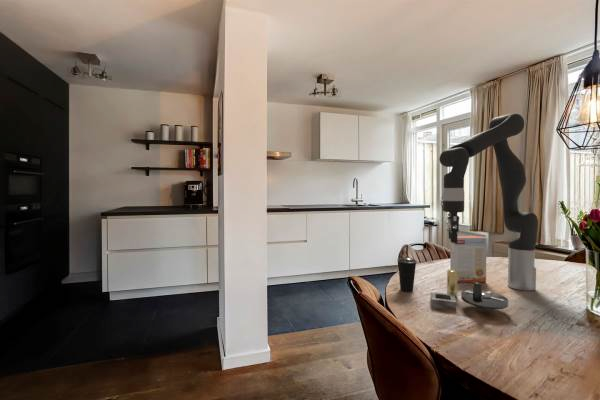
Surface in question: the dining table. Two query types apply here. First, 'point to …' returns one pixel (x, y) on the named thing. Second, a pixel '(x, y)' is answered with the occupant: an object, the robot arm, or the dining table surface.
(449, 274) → the gold metallic cylinder
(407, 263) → the dark tapered cylinder
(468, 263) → the cracker box
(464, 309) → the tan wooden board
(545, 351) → the dining table surface
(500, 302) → the handwheel
